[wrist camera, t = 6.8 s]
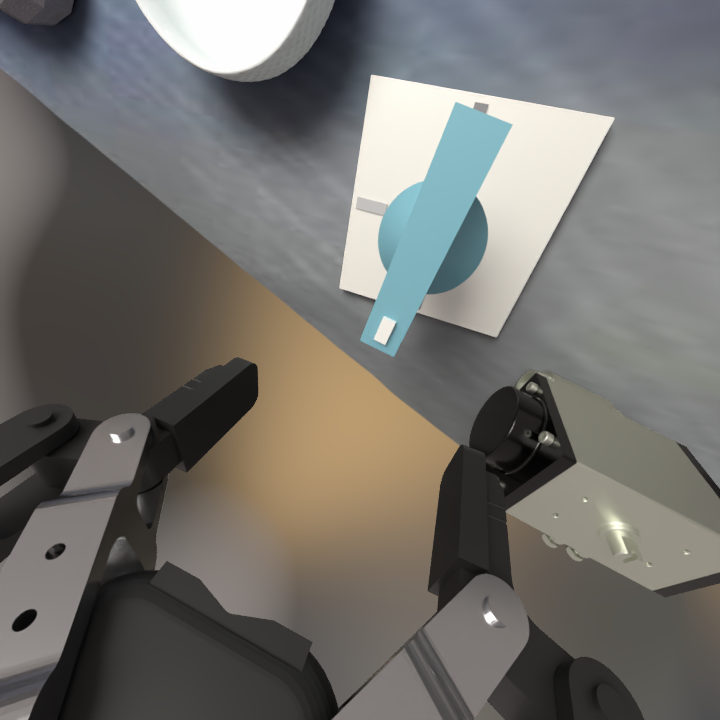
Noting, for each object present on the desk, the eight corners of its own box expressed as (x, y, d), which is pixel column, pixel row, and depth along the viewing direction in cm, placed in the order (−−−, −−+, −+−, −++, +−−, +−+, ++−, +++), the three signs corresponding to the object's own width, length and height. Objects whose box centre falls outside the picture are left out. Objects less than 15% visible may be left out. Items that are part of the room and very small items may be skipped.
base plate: (608, 120, 21) (662, 96, 15) (495, 332, 31) (501, 369, 25) (375, 79, 24) (341, 44, 18) (343, 285, 34) (314, 307, 28)
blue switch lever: (428, 116, 18) (401, 78, 11) (534, 159, 17) (571, 146, 11) (365, 287, 25) (326, 326, 18) (439, 322, 24) (426, 375, 18)
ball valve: (463, 384, 36) (455, 520, 21) (506, 329, 31) (534, 459, 16) (599, 453, 34) (688, 646, 20) (668, 408, 29) (851, 623, 15)
